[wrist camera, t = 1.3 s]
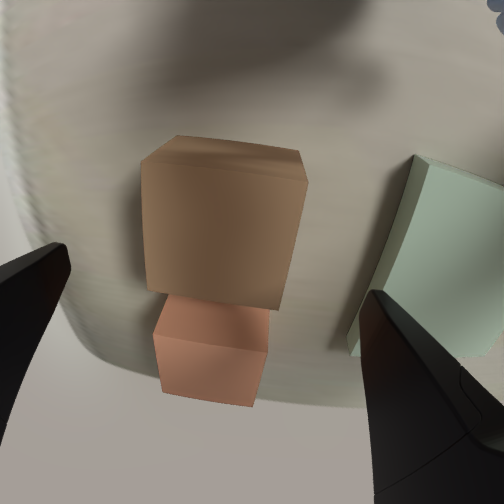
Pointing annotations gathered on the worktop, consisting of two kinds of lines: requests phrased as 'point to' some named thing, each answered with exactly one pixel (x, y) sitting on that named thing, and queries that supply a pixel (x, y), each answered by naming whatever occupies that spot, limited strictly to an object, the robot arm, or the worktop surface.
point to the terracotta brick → (211, 349)
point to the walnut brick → (221, 219)
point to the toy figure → (498, 2)
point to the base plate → (446, 258)
